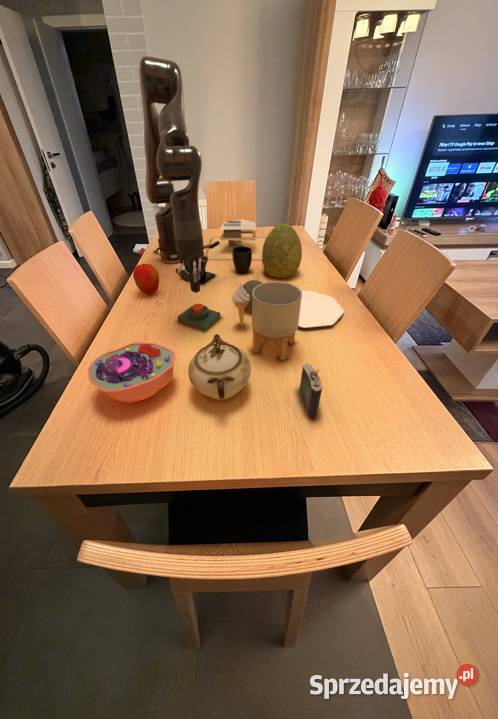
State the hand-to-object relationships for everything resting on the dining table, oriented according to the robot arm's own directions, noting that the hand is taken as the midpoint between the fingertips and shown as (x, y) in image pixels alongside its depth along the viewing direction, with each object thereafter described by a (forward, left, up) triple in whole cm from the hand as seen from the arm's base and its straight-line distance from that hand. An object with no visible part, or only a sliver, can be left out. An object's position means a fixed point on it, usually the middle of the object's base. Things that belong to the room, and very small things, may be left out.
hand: (195, 291), depth 93 cm
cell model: (+6, -33, -11) cm, 35 cm away
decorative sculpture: (+8, +47, -11) cm, 49 cm away
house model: (-23, +64, -11) cm, 69 cm away
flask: (+45, -17, -11) cm, 49 cm away
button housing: (0, 0, -11) cm, 11 cm away
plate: (+29, +23, -11) cm, 39 cm away
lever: (-15, +26, +2) cm, 30 cm away
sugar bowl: (+24, -23, -11) cm, 35 cm away
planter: (+28, -1, -11) cm, 30 cm away
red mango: (-28, +6, -11) cm, 31 cm away
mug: (-8, +42, -11) cm, 44 cm away
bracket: (-20, +26, -11) cm, 34 cm away
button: (0, 0, -7) cm, 7 cm away
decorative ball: (+12, +16, -11) cm, 23 cm away
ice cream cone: (+14, +4, -11) cm, 18 cm away
